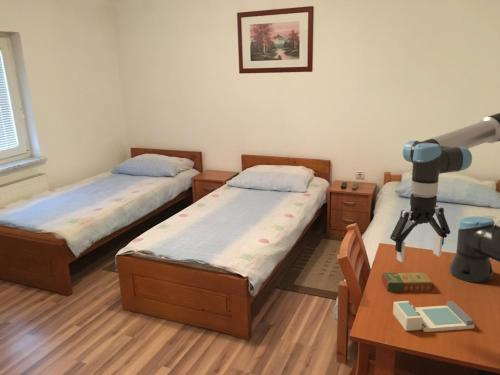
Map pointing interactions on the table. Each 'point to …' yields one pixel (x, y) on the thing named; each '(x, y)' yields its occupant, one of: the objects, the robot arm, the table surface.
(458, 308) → the cream teal-inset panel
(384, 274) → the carton
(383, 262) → the table surface
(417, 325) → the stub
